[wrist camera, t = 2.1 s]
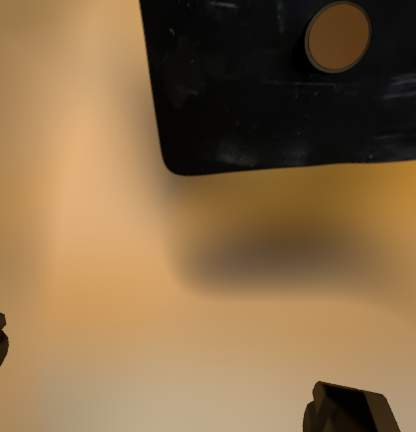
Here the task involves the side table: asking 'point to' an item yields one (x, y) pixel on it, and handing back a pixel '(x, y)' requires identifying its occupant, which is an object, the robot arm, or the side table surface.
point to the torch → (333, 39)
